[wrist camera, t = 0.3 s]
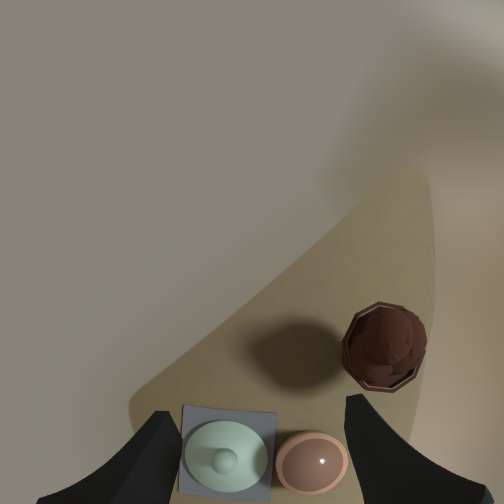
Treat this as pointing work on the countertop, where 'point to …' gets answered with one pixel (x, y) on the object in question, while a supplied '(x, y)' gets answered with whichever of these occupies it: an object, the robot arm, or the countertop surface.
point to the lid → (226, 456)
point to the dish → (310, 462)
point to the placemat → (255, 420)
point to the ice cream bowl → (384, 347)
